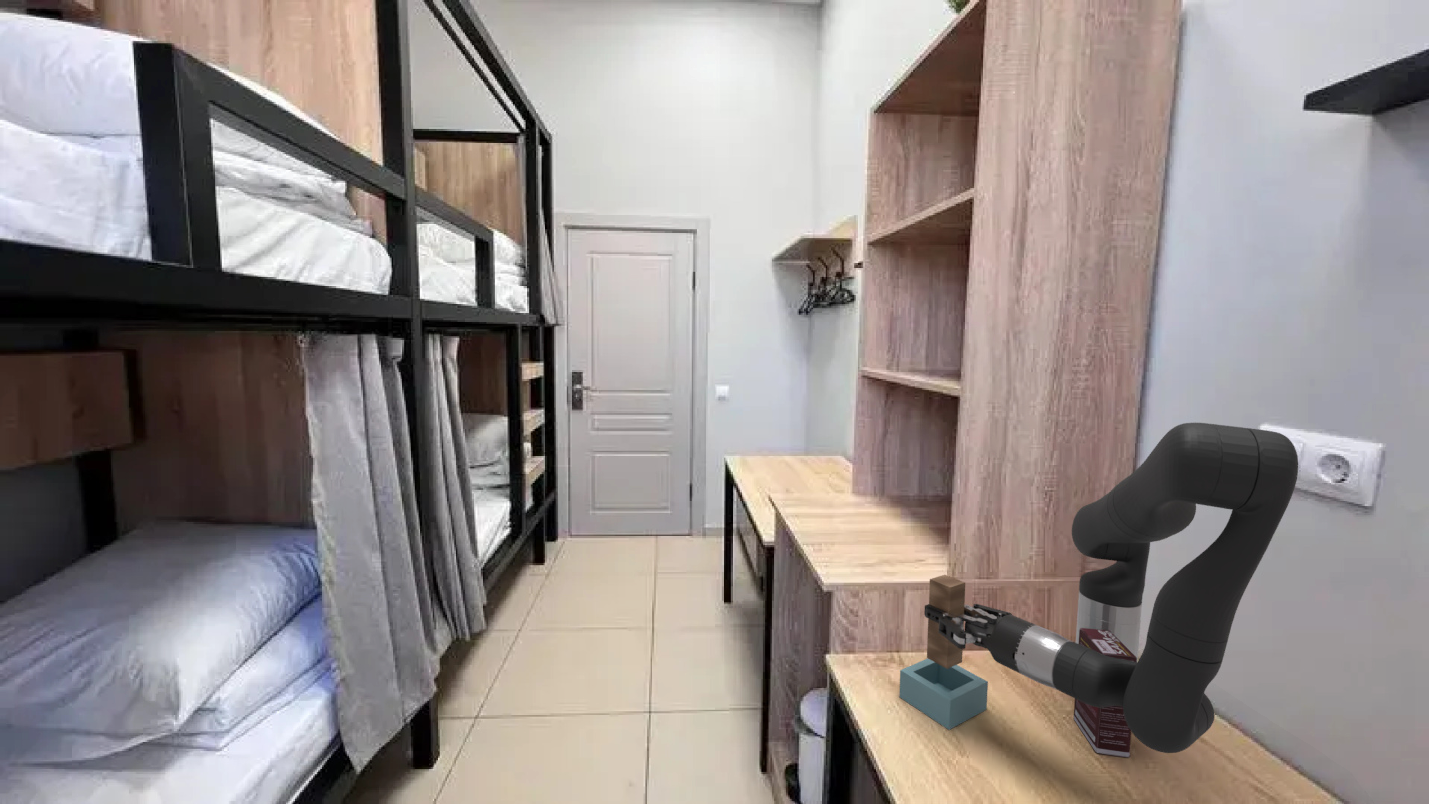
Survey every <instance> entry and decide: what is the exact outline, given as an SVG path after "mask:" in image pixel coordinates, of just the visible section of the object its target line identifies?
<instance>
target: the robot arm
mask: <svg viewBox="0 0 1429 804" xmlns="http://www.w3.org/2000/svg"><path fill="white" fill-rule="evenodd" d="M1298 473H1299V457H1298V451H1297V450H1296V447H1295V446H1294V443H1293V442H1292V441H1291V439H1290V438H1288V437H1287V436H1286V435H1284V434H1282V433H1280V432H1277V431H1271V430H1267V429H1266V430H1264V429H1259V428H1257V429H1256V428H1250V427H1249V428H1248V427H1241V426H1232V425H1224V424H1217V423H1215V424H1214V423H1206V422H1185V423H1180V424H1178V425H1176V426H1174V427H1172V428H1171V429H1170V430H1168V432H1167V433H1165V435H1163V437H1162V438H1161V439H1160V440H1159V442H1158V443H1157V444H1156V445H1155V447H1154V448H1153V449H1152V451H1151V452H1150V453H1149V455H1148V456H1147V458H1146V459H1145V460H1144V461H1143V462H1142V463H1141V464H1140V466H1139V467H1137V468H1136V469H1135V470H1134V471H1133V472H1132V473H1131V474H1130V475H1128V476H1127V477H1125V478H1124V479H1122V480H1121V481H1120V482H1119V483H1117V484H1116V485H1115V486H1114V487H1113V488H1112V489H1111V490H1110V491H1109V492H1108V493H1106V494H1105V495H1104V496H1102V497H1101V498H1099V499H1097V500H1095V501H1094V502H1092V503H1088V504H1086V505H1083V506H1082V507H1081V508H1080V509H1079V510H1077V512H1076V514H1075V516H1074V519H1073V521H1072V524H1071V538H1072V541H1073V544H1074V546H1075V547H1076V549H1077V551H1078V552H1079V553H1081V554H1082V555H1084V556H1085V557H1089V558H1092V559H1096V560H1097V559H1098V560H1105V561H1106V560H1107V561H1114V562H1115V563H1113V564H1111V565H1109V566H1107V567H1105V568H1099V569H1096V570H1091V571H1087V572H1084V573H1083V574H1082V575H1081V576H1080V578H1079V584H1078V601H1077V614H1076V616H1077V617H1076V618H1077V619H1076V629H1075V630H1076V631H1075V642H1074V641H1072V640H1070V639H1069V638H1066V637H1065V636H1062V634H1059V633H1057V632H1056V631H1052V630H1050V629H1047V628H1045V627H1042V626H1040V625H1038V624H1036V623H1032V622H1030V621H1028V620H1026V619H1023V618H1021V617H1017V616H1016V615H1013V613H1011V612H1008V611H1005V610H1002V609H998V608H994V607H990V606H986V605H983V604H979V603H974V604H973V605H972V606H971V605H969V604H965V605H964V615H963V614H959V615H958V616H957V615H954V614H951V613H947V612H945V611H943V610H941V609H939V608H936V607H934V606H932V605H930V604H929V603H928V604H925V605H924V610H923V611H924V614H923V615H924V617H925V618H927V620H928V619H931V620H933V621H935V622H937V623H939V629H938V632H939V633H940V634H941V635H943V636H944V637H945V638H946V639H948V640H949V641H950V642H952V643H953V644H954V645H955V646H957V647H958V648H960V649H963V650H965V649H966V646H967V645H966V644H973V645H975V646H977V647H981V648H984V649H987V650H988V651H989V653H990V655H991V656H992V659H993V660H994V661H995V662H996V663H997V664H1000V665H1002V666H1004V667H1006V668H1007V669H1010V670H1012V671H1014V672H1016V673H1018V674H1020V675H1022V676H1025V677H1027V678H1028V679H1030V680H1033V681H1034V682H1036V683H1039V684H1040V685H1043V686H1046V687H1048V688H1052V689H1054V690H1057V691H1059V692H1061V693H1063V694H1065V695H1067V696H1069V697H1071V698H1073V699H1074V700H1075V699H1077V700H1079V701H1081V702H1083V703H1085V704H1088V705H1090V706H1093V707H1098V708H1104V707H1110V706H1121V707H1123V713H1124V717H1125V720H1126V723H1127V725H1128V727H1129V729H1130V730H1131V734H1132V735H1133V736H1134V737H1135V738H1136V739H1137V740H1139V742H1140V743H1141V744H1143V745H1144V746H1146V747H1147V748H1149V749H1151V750H1154V751H1156V752H1159V753H1164V754H1174V753H1179V752H1182V751H1185V750H1187V749H1188V748H1190V747H1191V746H1192V745H1193V744H1194V743H1196V741H1197V740H1199V739H1200V738H1201V737H1202V736H1203V735H1204V734H1205V733H1207V732H1208V731H1209V729H1211V727H1212V725H1213V724H1214V721H1215V709H1214V706H1213V704H1212V702H1211V699H1209V697H1208V695H1207V694H1206V693H1205V692H1206V690H1207V687H1208V686H1209V684H1210V683H1211V682H1212V681H1213V680H1214V679H1215V677H1216V676H1217V675H1218V673H1219V671H1220V669H1221V667H1222V663H1223V659H1224V657H1225V653H1226V648H1227V645H1228V642H1229V638H1230V637H1229V636H1230V633H1231V630H1232V629H1231V628H1232V626H1233V622H1234V620H1235V616H1236V614H1237V611H1238V607H1239V605H1240V602H1241V600H1242V597H1243V596H1244V593H1245V591H1246V589H1247V588H1248V585H1249V584H1250V582H1251V580H1252V578H1253V576H1254V574H1255V572H1256V570H1257V569H1258V566H1259V565H1260V563H1261V561H1262V559H1263V558H1264V555H1265V553H1266V552H1267V550H1268V548H1269V546H1270V543H1271V541H1272V539H1273V537H1274V535H1275V533H1276V531H1277V529H1278V527H1279V525H1280V523H1281V520H1282V519H1283V516H1284V515H1285V512H1286V511H1287V508H1288V506H1289V503H1290V501H1291V499H1292V496H1293V494H1294V491H1295V488H1296V485H1297V481H1298ZM1197 505H1201V506H1208V507H1214V508H1220V509H1225V510H1226V509H1227V510H1232V511H1231V513H1230V516H1229V518H1228V521H1227V523H1226V525H1225V527H1224V529H1223V530H1222V532H1221V533H1220V534H1219V536H1218V537H1217V538H1216V539H1215V540H1214V541H1213V542H1212V543H1211V544H1210V545H1209V546H1208V547H1207V548H1206V549H1205V550H1203V552H1201V553H1200V554H1199V555H1198V556H1196V557H1195V558H1194V559H1192V560H1191V561H1190V562H1189V563H1187V564H1186V565H1184V566H1183V567H1182V568H1181V569H1179V570H1178V571H1177V572H1176V573H1175V574H1173V575H1172V576H1171V577H1170V578H1169V579H1168V580H1167V581H1165V583H1164V584H1163V585H1162V587H1161V588H1160V590H1159V591H1158V594H1157V595H1156V597H1155V601H1154V603H1153V606H1152V612H1151V615H1150V620H1149V625H1148V630H1147V634H1146V640H1145V645H1144V648H1143V651H1142V653H1141V655H1140V656H1139V647H1140V636H1141V634H1140V633H1141V622H1142V620H1141V619H1142V618H1141V617H1142V607H1143V606H1142V605H1143V604H1142V603H1143V595H1144V591H1145V586H1146V575H1147V570H1148V569H1147V567H1148V560H1149V557H1150V556H1149V555H1150V549H1151V543H1153V542H1160V541H1162V540H1166V539H1167V538H1169V537H1172V536H1175V535H1177V534H1179V533H1181V532H1182V531H1184V530H1185V529H1186V528H1187V527H1189V526H1190V525H1191V523H1192V522H1193V521H1194V518H1195V515H1196V513H1197ZM950 620H954V621H955V622H956V624H954V623H953V622H951V621H950ZM963 622H964V628H963ZM1080 628H1088V629H1098V630H1106V631H1111V632H1112V633H1113V635H1115V636H1116V637H1117V638H1118V639H1119V640H1120V641H1121V642H1122V643H1123V644H1124V645H1125V646H1126V647H1127V648H1128V649H1129V650H1130V651H1131V652H1132V653H1133V654H1134V655H1135V656H1136V657H1137V662H1133V661H1129V660H1125V659H1119V658H1114V657H1109V656H1106V655H1103V654H1101V653H1099V652H1096V651H1094V650H1092V649H1090V648H1087V647H1085V646H1082V645H1080V644H1079V630H1080ZM1138 658H1139V659H1138Z"/></svg>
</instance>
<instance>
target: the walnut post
mask: <svg viewBox="0 0 1429 804" xmlns="http://www.w3.org/2000/svg"><path fill="white" fill-rule="evenodd" d="M928 589H929V592H928V593H929V594H928V604H930V605H932V606H934V607H936V608H939V609H941V610H943V611H945V612H947V613H951V614H954V615H957V616H958V615H959V614H963V615H964V605H966V604H965V603H966V601H965V600H966V598H965V597H966V581H962V580H960V579H957V578H955V577H953V576H949V575H947V574H942V575H938V576H936V577H932V578H929V588H928ZM950 621H951V622H953V623H954V624H956V622H955V621H954V620H950ZM927 623H928V624H927V644H926V645H927V648H926V650H927V651H926V659H930V660H932V661H934V662H935V663H937V664H939V665H941V666H943V667H945V668H946V669H948V668H950V667H952V666H955V665H959V664H961V663H963V650H964V649H960V648H958V647H957V646H955V645H954V644H953V643H952V642H950V641H949V640H948V639H946V638H945V637H944V636H943V635H941V634H940V633H939V632H938V629H939V623H937V622H935V621H933V620H931V619H928V618H927ZM963 628H964V629H965V621H964V622H963Z"/></svg>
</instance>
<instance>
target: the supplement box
mask: <svg viewBox="0 0 1429 804" xmlns="http://www.w3.org/2000/svg"><path fill="white" fill-rule="evenodd" d="M1079 644H1080V645H1082V646H1085V647H1087V648H1090V649H1092V650H1094V651H1096V652H1099V653H1101V654H1103V655H1106V656H1109V657H1114V658H1119V659H1125V660H1129V661H1133V662H1137V657H1136V656H1135V655H1134V654H1133V653H1132V652H1131V651H1130V650H1129V649H1128V648H1127V647H1126V646H1125V645H1124V644H1123V643H1122V642H1121V641H1120V640H1119V639H1118V638H1117V637H1116V636H1115V635H1113V633H1112V632H1111V631H1106V630H1098V629H1088V628H1080V630H1079ZM1073 720H1074V721H1075V723H1076V725H1077V726H1078V728H1079V729H1080V731H1081V732H1082V734H1083V735H1084V737H1085V738H1086V740H1087V741H1088V742H1089V744H1090V745H1091V747H1092V749H1093V750H1094V751H1095V752H1096V754H1101V755H1102V754H1103V755H1108V756H1115V757H1124V758H1129V757H1130V755H1131V753H1130V751H1131V738H1132V732H1131V730H1130V729H1129V727H1128V725H1127V723H1126V720H1125V717H1124V713H1123V707H1121V706H1110V707H1104V708H1098V707H1093V706H1090V705H1088V704H1085V703H1083V702H1081V701H1079V700H1077V699H1075V698H1074V706H1073Z"/></svg>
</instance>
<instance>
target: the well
mask: <svg viewBox="0 0 1429 804" xmlns="http://www.w3.org/2000/svg"><path fill="white" fill-rule="evenodd" d="M899 672H900V673H899V696H898V697H899V699H902V701H905V702H906V703H908V704H909V705H911V706H912V707H914V709H916V710H917V711H920V712H921V713H922V714H924V715H926V716H927V717H928V718H930V719H932V720H933V721H935V722H936V723H937V724H939V725H940V726H942V727H944V728H946V729H947V730H948V731H949V730H951V729H954V728H955V727H958V726H959V725H960V724H963V723H965V722H966V721H968V720H970V719H971V718H974V717H975V716H978V715H979V714H981V713H984V711H986V710H987V709H988V708H987V706H988V705H987V704H988V690H989V689H988V686H989V682H988V681H987V680H986V679H984V678H982V677H980V676H978V675H976V674H974V673H973V672H971V671H969V670H967V669H965V668H964V667H962V666H960V665H959V664H957V665H955V666H952V667H950V668H948V669H946V668H945V667H943V666H941V665H939V664H937V663H935V662H934V661H932V660H930V659H928V658H925V659H923V660H920V661H918V662H916V663H914V664H911V665H909V666H906V667H905V668H902V669H900V671H899Z"/></svg>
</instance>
